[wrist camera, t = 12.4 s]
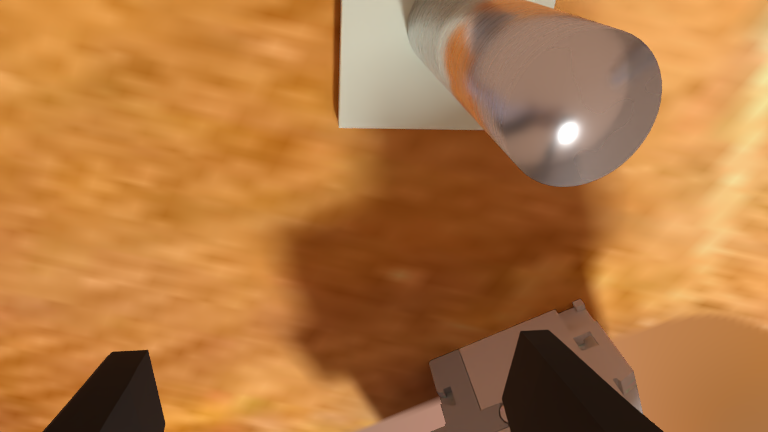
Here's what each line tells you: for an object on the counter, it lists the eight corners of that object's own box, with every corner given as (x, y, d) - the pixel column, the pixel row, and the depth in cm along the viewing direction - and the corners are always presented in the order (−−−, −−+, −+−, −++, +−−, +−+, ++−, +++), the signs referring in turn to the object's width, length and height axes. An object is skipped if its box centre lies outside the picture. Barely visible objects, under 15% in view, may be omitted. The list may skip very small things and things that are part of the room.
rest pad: (337, 122, 18) (338, 128, 18) (343, -108, 15) (344, -109, 14) (520, 125, 19) (526, 130, 19) (566, -88, 16) (575, -88, 15)
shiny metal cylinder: (405, 70, 17) (495, 190, 9) (408, -22, 15) (518, 29, 8) (485, 68, 17) (637, 182, 9) (495, -22, 16) (683, 26, 8)
